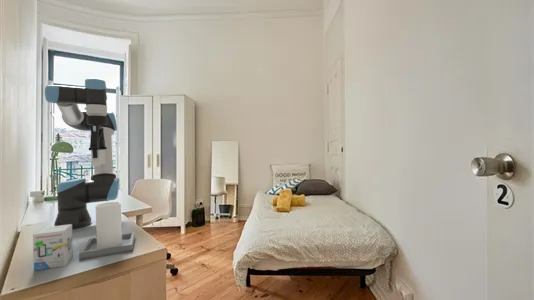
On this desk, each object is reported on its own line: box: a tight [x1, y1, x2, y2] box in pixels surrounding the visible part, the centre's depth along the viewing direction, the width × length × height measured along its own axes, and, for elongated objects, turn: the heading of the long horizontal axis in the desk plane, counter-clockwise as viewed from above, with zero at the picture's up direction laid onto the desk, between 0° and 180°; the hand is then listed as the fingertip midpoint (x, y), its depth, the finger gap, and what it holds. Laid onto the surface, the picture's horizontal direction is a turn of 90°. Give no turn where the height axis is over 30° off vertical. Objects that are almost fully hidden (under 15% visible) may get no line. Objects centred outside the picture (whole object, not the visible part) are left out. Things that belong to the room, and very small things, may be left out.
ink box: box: [32, 224, 74, 271], centre depth 87 cm, size 9×8×12 cm
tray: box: [78, 231, 136, 261], centre depth 100 cm, size 16×16×2 cm
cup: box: [95, 201, 123, 249], centre depth 100 cm, size 8×8×16 cm
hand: (99, 165), depth 113 cm, fingers open, 13 cm apart
